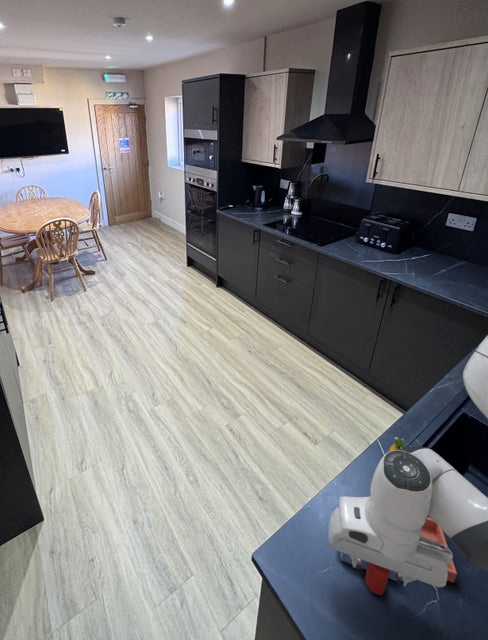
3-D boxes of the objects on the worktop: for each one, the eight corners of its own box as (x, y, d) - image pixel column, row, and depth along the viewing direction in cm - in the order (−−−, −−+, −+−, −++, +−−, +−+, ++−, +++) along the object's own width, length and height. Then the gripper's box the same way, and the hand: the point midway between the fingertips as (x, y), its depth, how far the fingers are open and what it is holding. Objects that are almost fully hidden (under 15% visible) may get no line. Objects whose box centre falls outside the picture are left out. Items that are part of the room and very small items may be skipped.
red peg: (382, 576, 68) (388, 555, 66) (386, 598, 65) (392, 577, 63) (363, 569, 69) (369, 548, 67) (366, 590, 66) (372, 569, 64)
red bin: (436, 529, 76) (439, 520, 75) (453, 583, 67) (457, 574, 66) (384, 512, 80) (387, 504, 79) (395, 562, 70) (397, 553, 70)
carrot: (407, 487, 85) (419, 445, 80) (394, 495, 83) (405, 452, 79) (390, 470, 89) (400, 429, 85) (377, 477, 88) (387, 435, 83)
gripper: (448, 529, 61) (432, 574, 66) (332, 493, 68) (324, 536, 72) (462, 570, 56) (443, 616, 60) (334, 526, 62) (325, 570, 66)
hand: (377, 572), depth 66 cm, fingers open, 7 cm apart
